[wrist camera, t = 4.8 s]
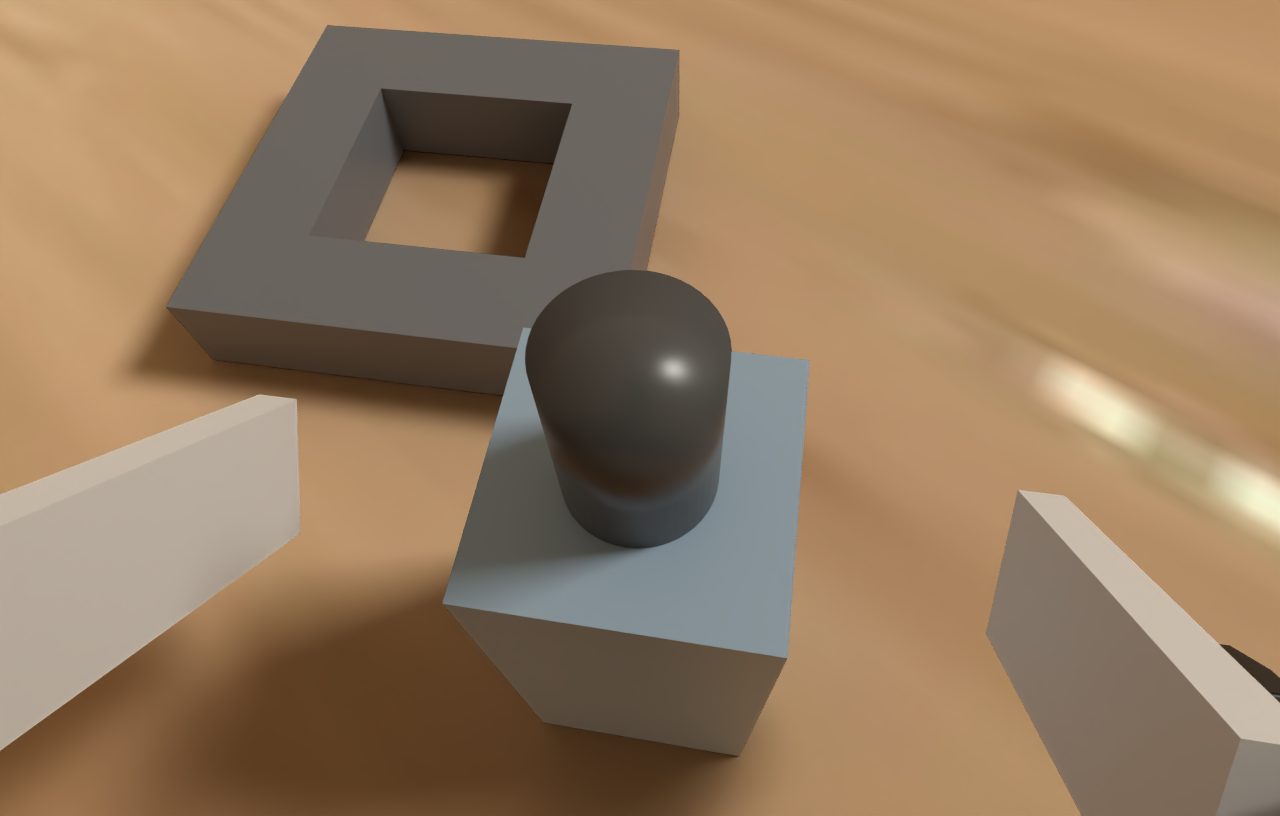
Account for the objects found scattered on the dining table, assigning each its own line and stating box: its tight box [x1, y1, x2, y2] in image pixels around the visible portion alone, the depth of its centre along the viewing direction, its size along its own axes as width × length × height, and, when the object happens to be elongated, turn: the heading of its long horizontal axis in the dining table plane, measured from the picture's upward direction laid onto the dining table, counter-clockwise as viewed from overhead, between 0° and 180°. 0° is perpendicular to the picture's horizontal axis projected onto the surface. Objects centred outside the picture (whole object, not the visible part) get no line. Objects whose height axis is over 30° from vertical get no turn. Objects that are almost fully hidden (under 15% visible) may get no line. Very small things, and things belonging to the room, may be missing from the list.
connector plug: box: [442, 270, 810, 756], centre depth 14 cm, size 4×4×12 cm
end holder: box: [166, 25, 679, 396], centre depth 25 cm, size 12×12×2 cm
